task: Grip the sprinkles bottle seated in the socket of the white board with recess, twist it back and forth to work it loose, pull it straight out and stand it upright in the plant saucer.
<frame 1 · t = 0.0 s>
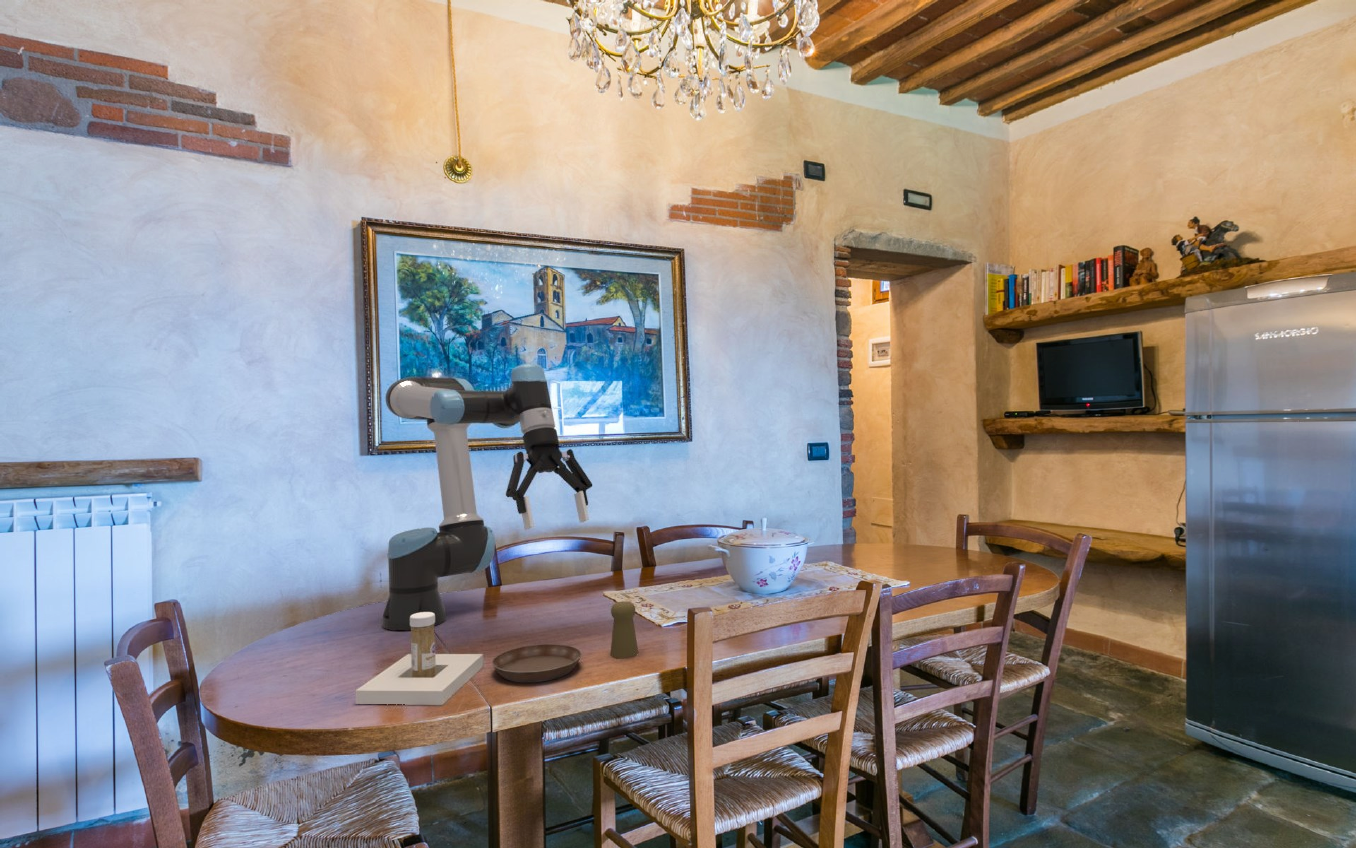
hand: (557, 524, 150), 28 cm above the table, tool tilted 20°, fingers open, 13 cm apart
plant saucer: (537, 672, 140), on the table
sprinkles bottle: (424, 685, 134), resting in white board with recess
white board with recess: (424, 684, 134), on the table
pepper mill: (624, 655, 149), on the table
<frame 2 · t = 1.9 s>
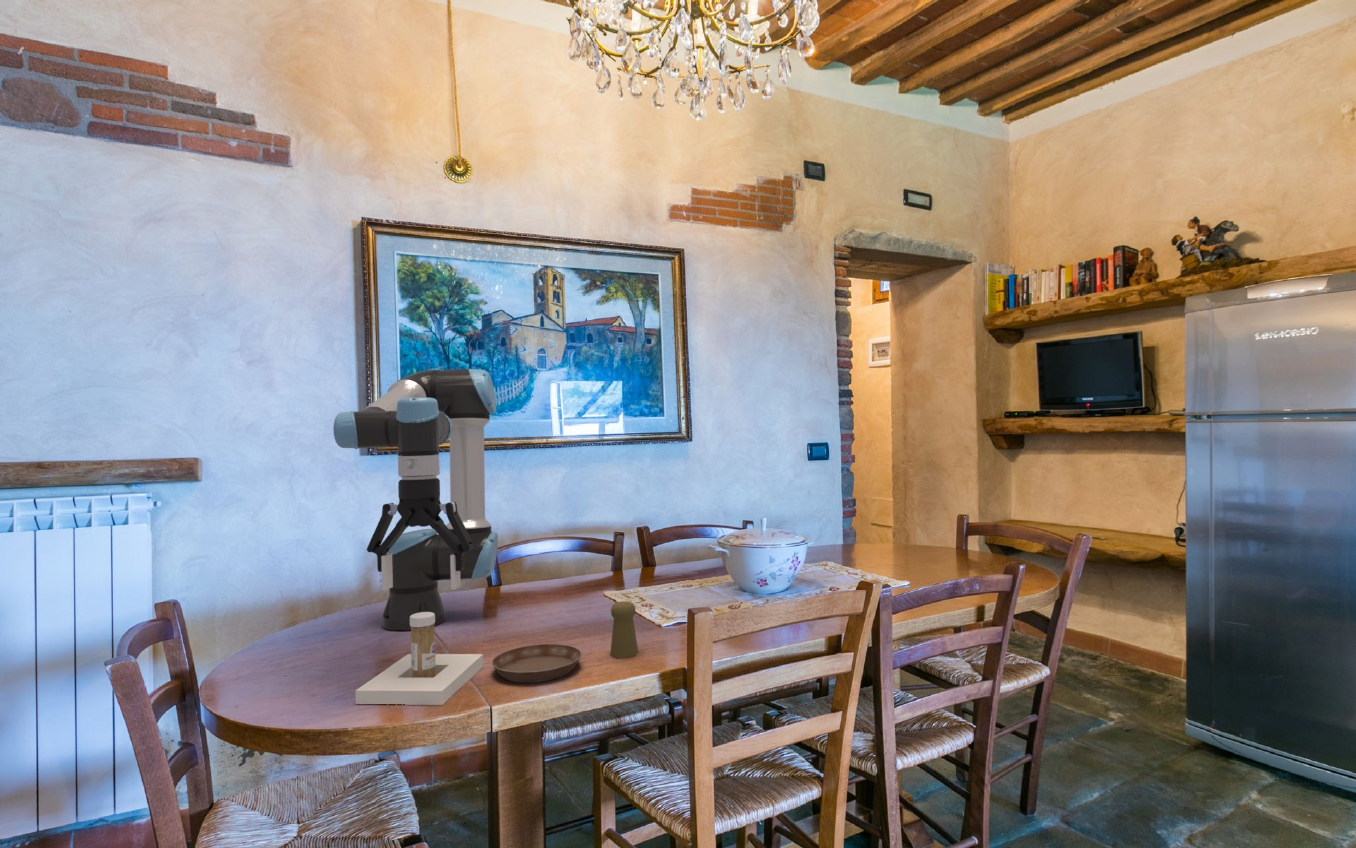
hand: (421, 588, 134), 18 cm above the table, tool pointing down, fingers open, 13 cm apart
nothing on the table moved.
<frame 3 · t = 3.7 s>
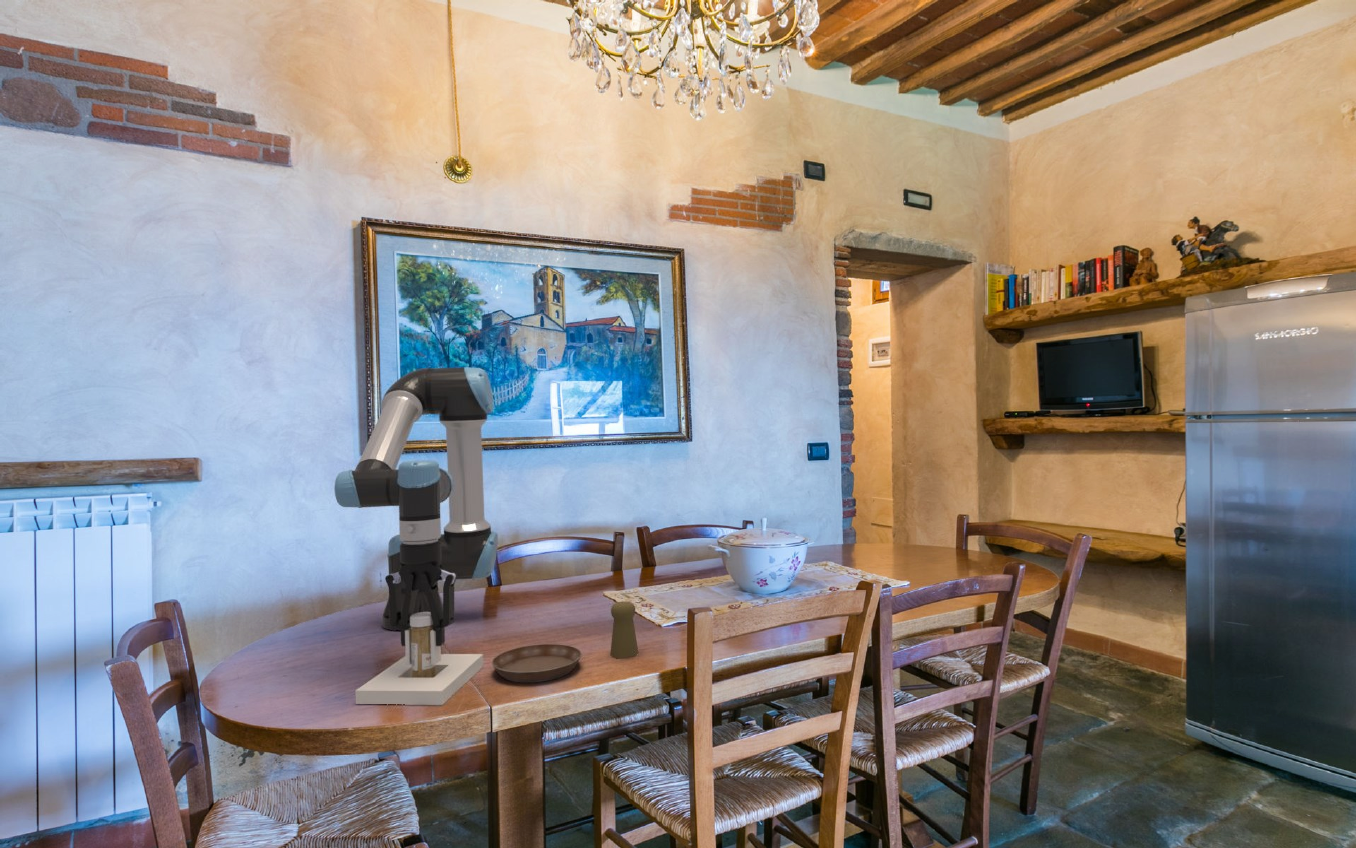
hand: (423, 662, 134), 4 cm above the table, tool pointing down, fingers closed on sprinkles bottle, 4 cm apart
sprinkles bottle: (424, 685, 134), resting in white board with recess, touching gripper
everything else where it was.
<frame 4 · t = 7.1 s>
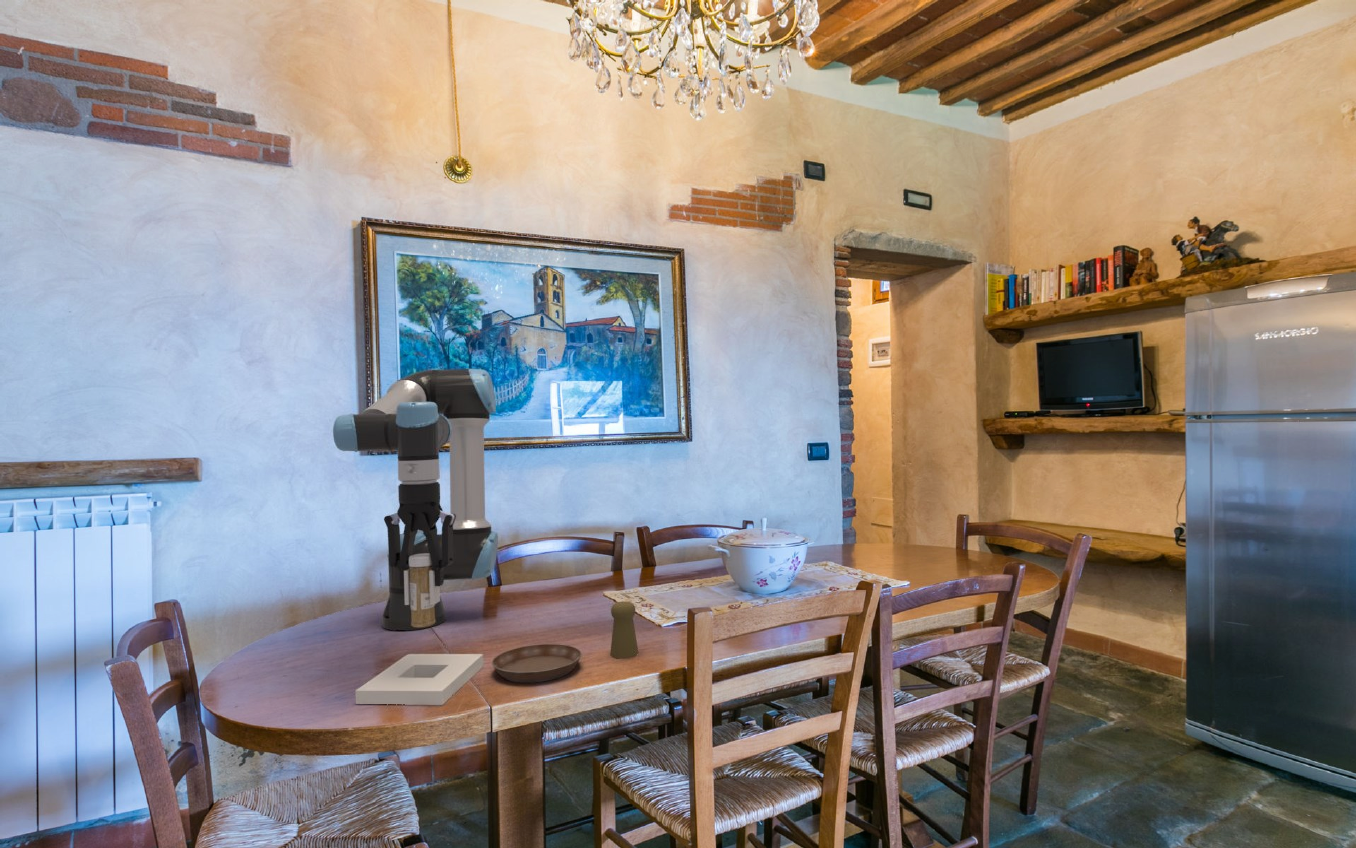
hand: (422, 602, 134), 16 cm above the table, tool pointing down, fingers closed on sprinkles bottle, 4 cm apart
sprinkles bottle: (423, 625, 134), point 11 cm above the table, touching gripper
everything else where it was.
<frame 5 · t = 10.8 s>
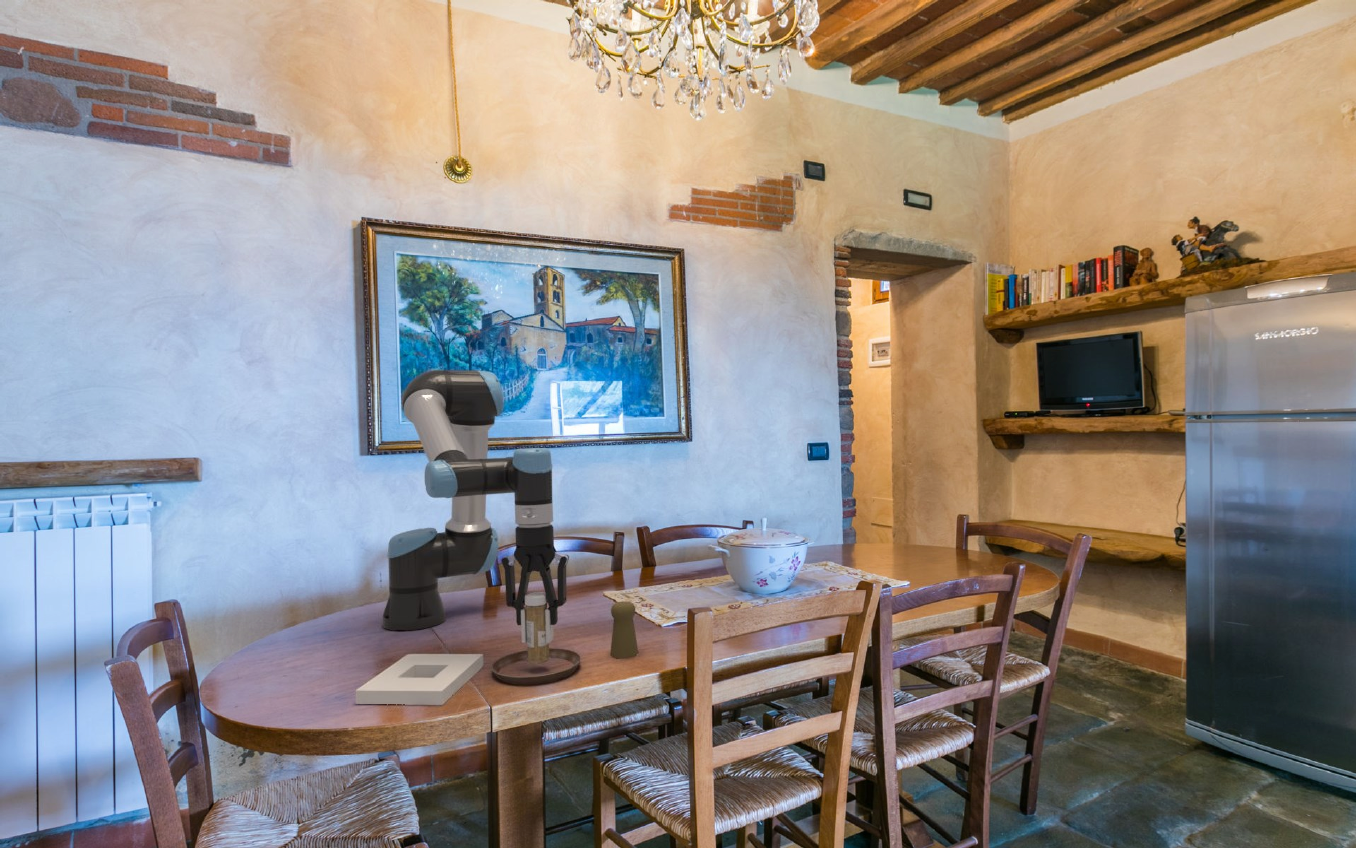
hand: (537, 640, 140), 6 cm above the table, tool pointing down, fingers closed on sprinkles bottle, 4 cm apart
sprinkles bottle: (538, 661, 140), point 2 cm above the table, touching gripper
everything else where it was.
when the fingers open (6 cm above the table, at t = 10.9 s): sprinkles bottle stays where it is, resting on plant saucer.
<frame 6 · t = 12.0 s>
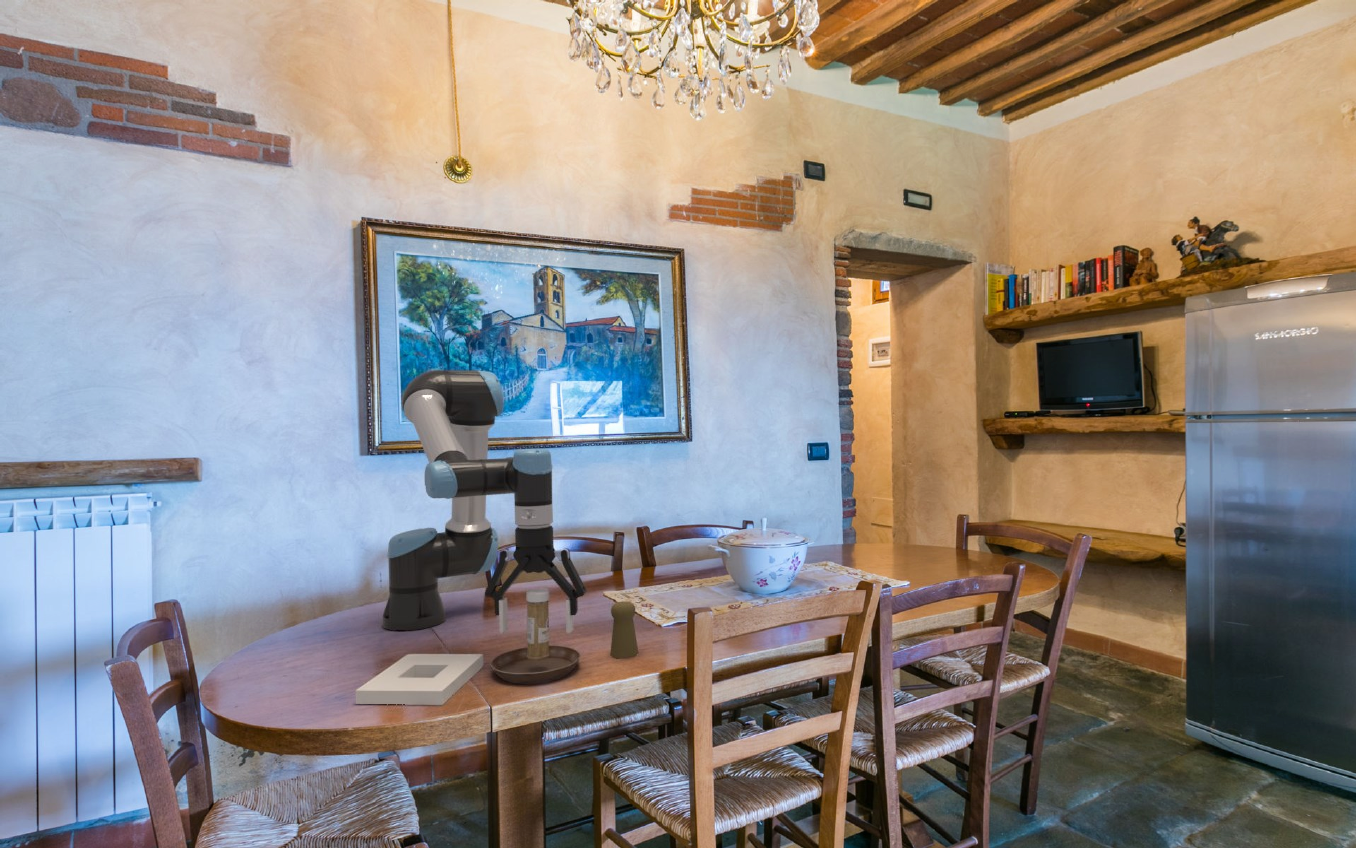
hand: (536, 631, 140), 8 cm above the table, tool pointing down, fingers open, 13 cm apart
plant saucer: (536, 674, 140), on the table, touching sprinkles bottle
sprinkles bottle: (537, 658, 140), point 2 cm above the table, touching plant saucer
everything else where it was.
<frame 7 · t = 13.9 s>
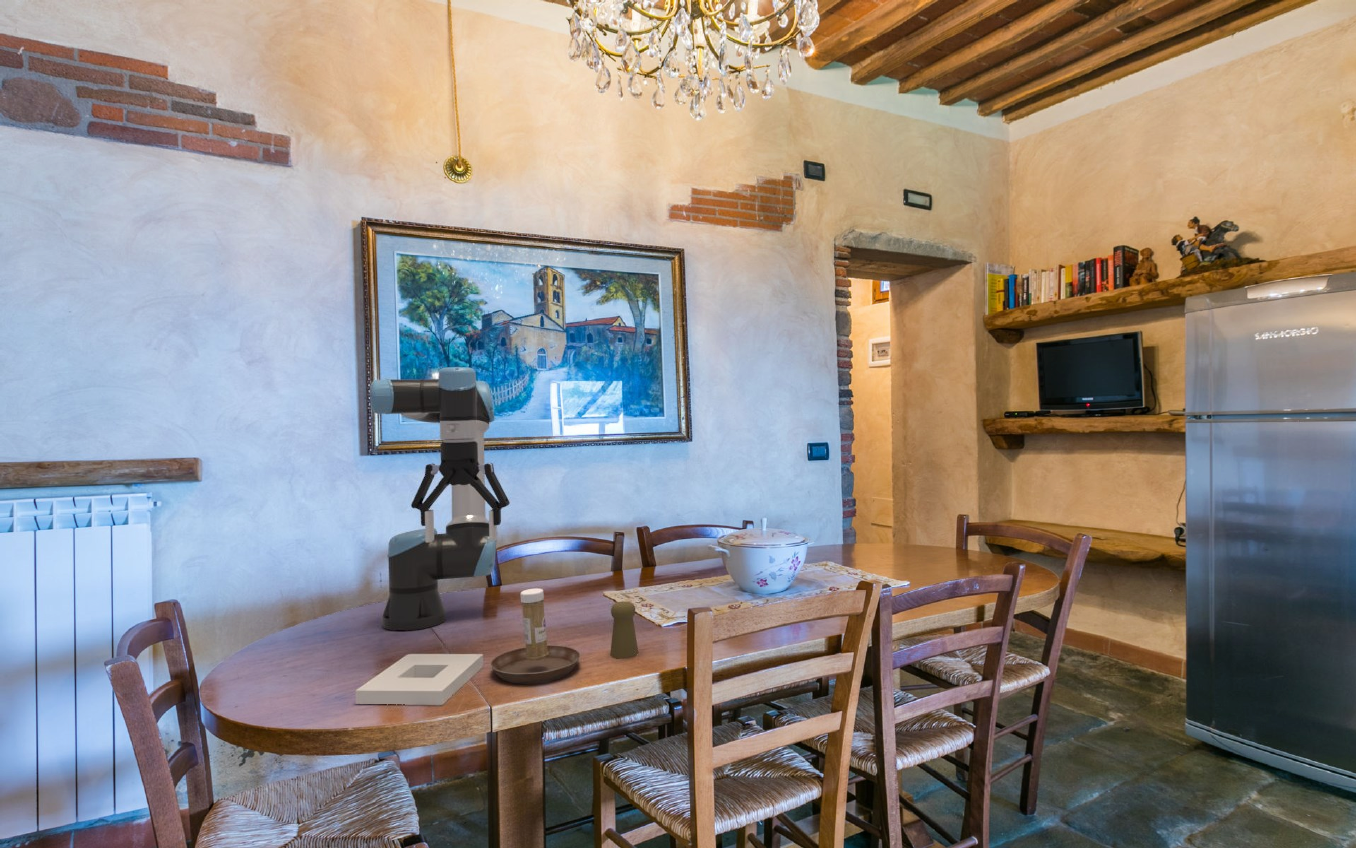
hand: (461, 541, 147), 25 cm above the table, tool pointing down, fingers open, 13 cm apart
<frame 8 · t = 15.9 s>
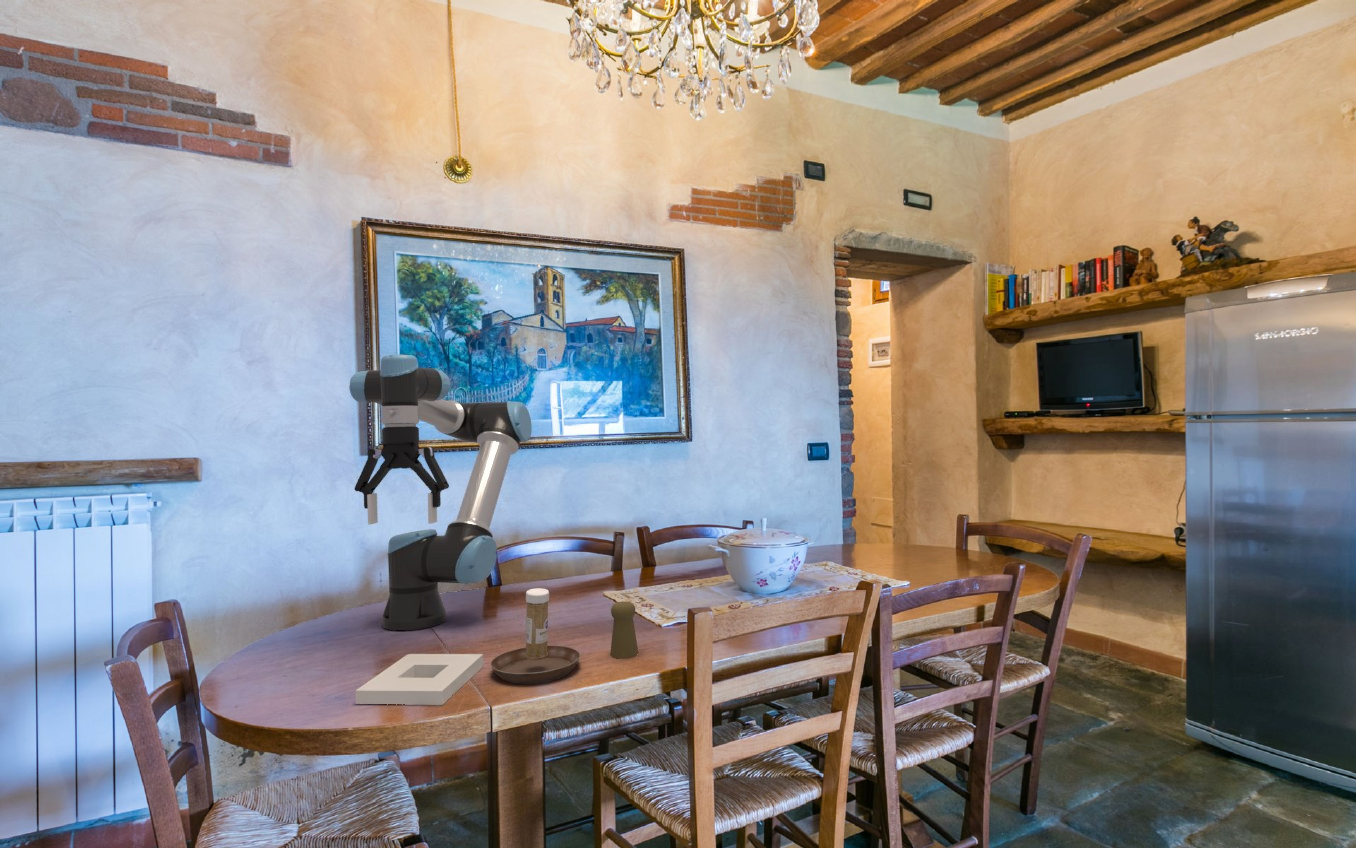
hand: (402, 523, 152), 29 cm above the table, tool pointing down, fingers open, 13 cm apart
at the end: sprinkles bottle 0.1 cm from the plant saucer (horizontally); sprinkles bottle tilted 6°; sprinkles bottle point 2.5 cm above the table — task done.
